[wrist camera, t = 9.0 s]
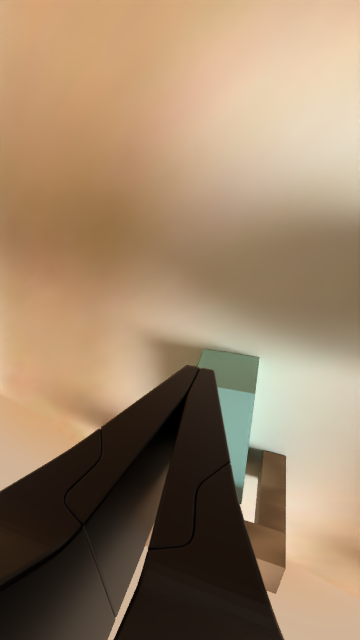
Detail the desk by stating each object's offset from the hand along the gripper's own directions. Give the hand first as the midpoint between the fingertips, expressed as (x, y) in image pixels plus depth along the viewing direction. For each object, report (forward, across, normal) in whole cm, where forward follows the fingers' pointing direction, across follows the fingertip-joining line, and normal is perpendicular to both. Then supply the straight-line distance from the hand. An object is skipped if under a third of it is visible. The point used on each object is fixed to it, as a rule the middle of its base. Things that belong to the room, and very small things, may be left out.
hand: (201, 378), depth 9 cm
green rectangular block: (+11, 0, +13) cm, 17 cm away
